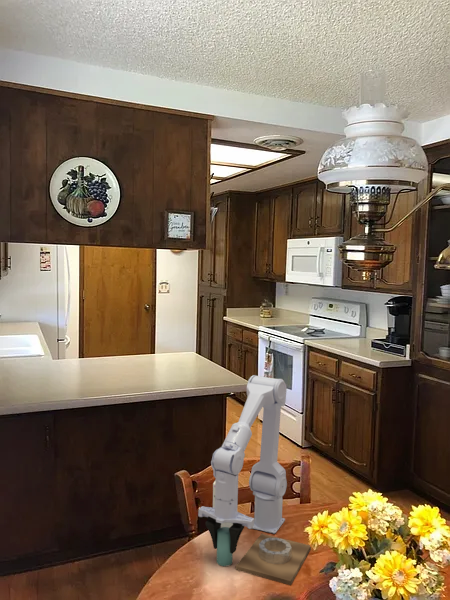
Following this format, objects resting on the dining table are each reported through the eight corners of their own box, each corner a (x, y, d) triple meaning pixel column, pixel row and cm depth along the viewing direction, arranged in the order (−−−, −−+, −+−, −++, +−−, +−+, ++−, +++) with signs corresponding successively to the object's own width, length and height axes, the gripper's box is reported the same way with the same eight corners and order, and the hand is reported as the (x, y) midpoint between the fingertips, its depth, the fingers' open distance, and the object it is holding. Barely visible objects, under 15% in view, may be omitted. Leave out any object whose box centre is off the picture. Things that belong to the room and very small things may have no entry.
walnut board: (261, 536, 143) (261, 533, 143) (310, 549, 137) (310, 545, 137) (235, 569, 126) (236, 565, 126) (290, 585, 121) (290, 581, 121)
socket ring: (265, 544, 137) (265, 535, 137) (294, 551, 134) (294, 542, 134) (254, 559, 130) (255, 549, 130) (285, 567, 126) (285, 557, 126)
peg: (220, 555, 133) (221, 525, 132) (234, 559, 131) (235, 529, 131) (213, 563, 129) (214, 532, 129) (228, 567, 127) (229, 536, 127)
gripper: (193, 496, 129) (192, 549, 129) (247, 508, 123) (245, 564, 123) (205, 486, 135) (204, 537, 136) (257, 497, 129) (256, 550, 130)
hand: (224, 549), depth 130 cm, fingers closed on peg, 4 cm apart
